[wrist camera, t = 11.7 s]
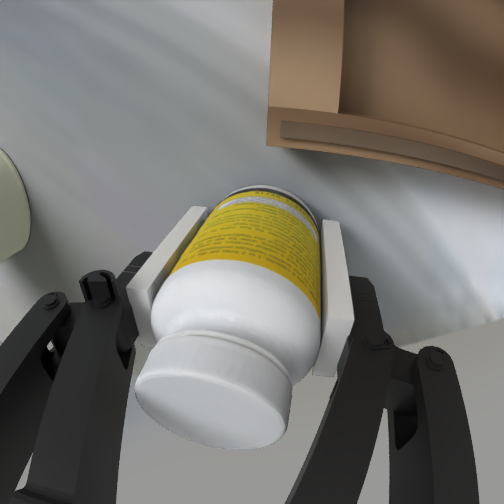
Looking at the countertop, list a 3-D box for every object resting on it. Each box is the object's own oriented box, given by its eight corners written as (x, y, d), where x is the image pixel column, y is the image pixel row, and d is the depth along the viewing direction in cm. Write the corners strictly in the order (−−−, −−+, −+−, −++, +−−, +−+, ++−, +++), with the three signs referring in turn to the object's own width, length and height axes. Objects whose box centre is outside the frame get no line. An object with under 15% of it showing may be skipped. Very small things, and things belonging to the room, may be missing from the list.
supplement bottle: (202, 183, 14) (75, 330, 6) (320, 182, 13) (335, 361, 5) (216, 279, 17) (147, 441, 9) (317, 283, 16) (310, 466, 8)
